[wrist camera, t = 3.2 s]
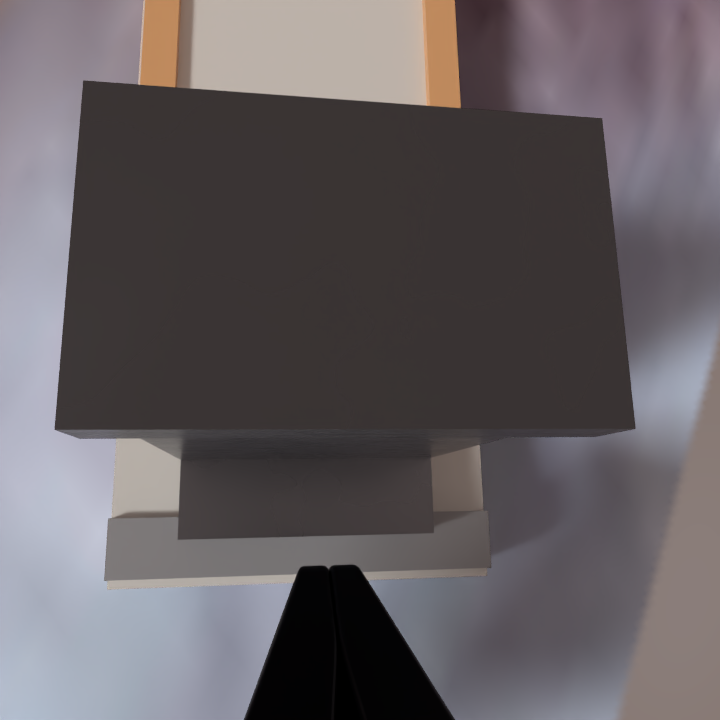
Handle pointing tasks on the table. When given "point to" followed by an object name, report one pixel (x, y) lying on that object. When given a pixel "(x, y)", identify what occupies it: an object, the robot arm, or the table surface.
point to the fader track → (307, 79)
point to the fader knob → (334, 297)
